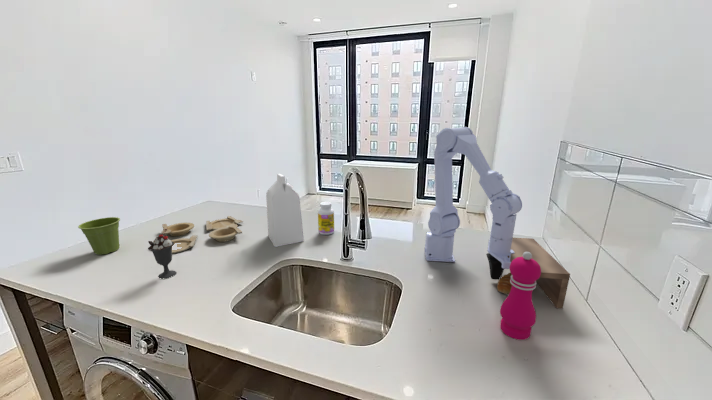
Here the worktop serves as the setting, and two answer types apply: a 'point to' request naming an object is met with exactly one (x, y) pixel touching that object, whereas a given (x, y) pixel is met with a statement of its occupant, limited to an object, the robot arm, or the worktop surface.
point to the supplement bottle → (325, 219)
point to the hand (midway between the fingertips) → (494, 278)
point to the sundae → (163, 254)
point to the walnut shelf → (544, 270)
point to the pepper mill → (520, 298)
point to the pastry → (505, 284)
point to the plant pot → (102, 234)
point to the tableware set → (221, 227)
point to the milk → (283, 213)
